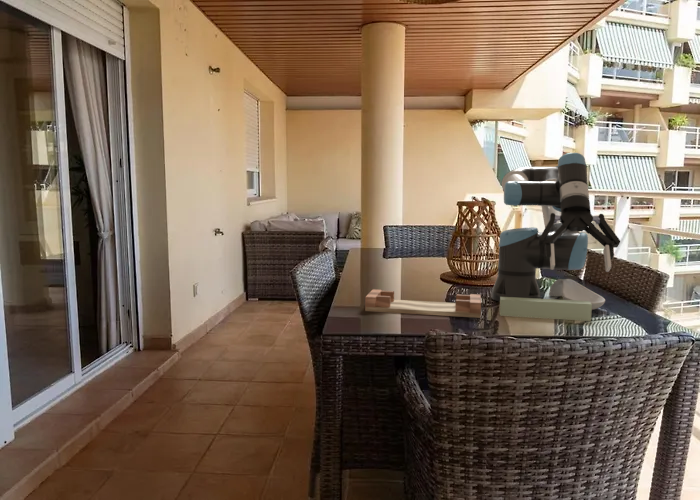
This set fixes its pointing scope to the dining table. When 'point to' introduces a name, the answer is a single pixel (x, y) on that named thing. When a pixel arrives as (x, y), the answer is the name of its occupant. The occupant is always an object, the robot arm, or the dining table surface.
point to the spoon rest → (575, 292)
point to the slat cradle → (423, 305)
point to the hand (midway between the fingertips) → (580, 268)
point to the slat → (545, 308)
